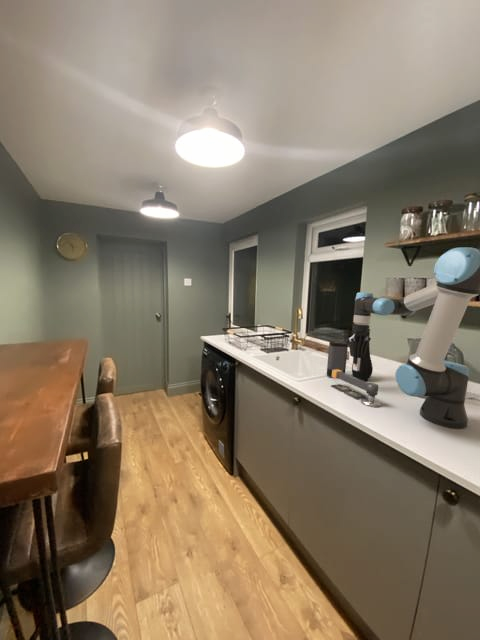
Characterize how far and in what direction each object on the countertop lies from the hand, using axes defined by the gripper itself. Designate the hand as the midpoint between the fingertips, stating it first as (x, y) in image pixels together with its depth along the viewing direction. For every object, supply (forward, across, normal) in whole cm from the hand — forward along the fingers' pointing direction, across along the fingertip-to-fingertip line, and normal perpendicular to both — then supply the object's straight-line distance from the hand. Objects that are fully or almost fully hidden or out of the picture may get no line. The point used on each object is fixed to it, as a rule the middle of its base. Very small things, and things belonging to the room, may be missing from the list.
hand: (355, 370), depth 138 cm
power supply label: (+9, +8, +9) cm, 15 cm away
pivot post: (+9, +8, +18) cm, 21 cm away
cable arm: (+5, +8, +7) cm, 12 cm away
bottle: (+10, -15, -9) cm, 20 cm away
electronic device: (+10, -3, -16) cm, 19 cm away
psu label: (+9, +8, 0) cm, 12 cm away
